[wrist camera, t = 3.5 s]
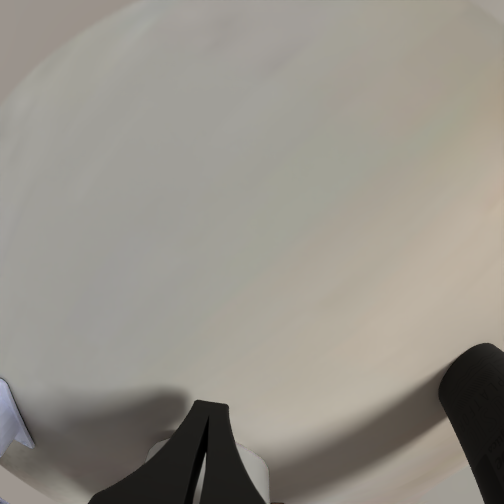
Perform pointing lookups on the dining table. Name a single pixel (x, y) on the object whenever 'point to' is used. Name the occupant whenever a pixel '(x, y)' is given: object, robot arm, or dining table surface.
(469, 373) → the drinking cup
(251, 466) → the can
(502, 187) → the dining table surface
